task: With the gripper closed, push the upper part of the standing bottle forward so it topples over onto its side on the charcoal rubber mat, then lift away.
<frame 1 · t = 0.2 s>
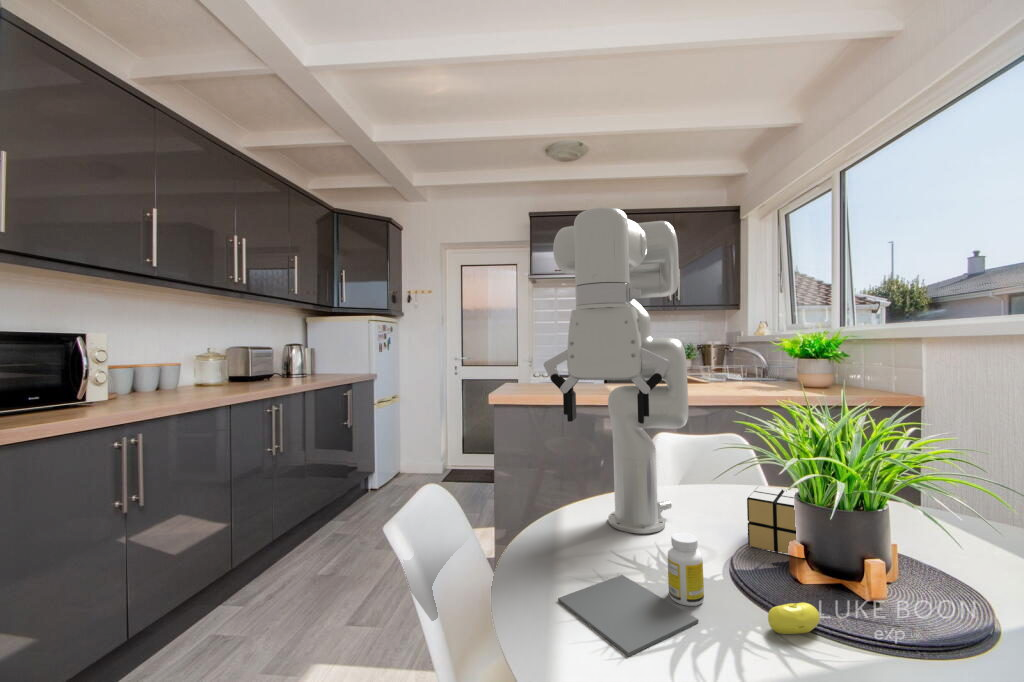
hand: (606, 420, 66), 31 cm above the table, tool pointing down, fingers open, 9 cm apart
supplement bottle: (686, 599, 76), on the table
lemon: (795, 632, 67), on the table
charcoal mat: (625, 611, 73), on the table
puzzle cube: (780, 545, 95), on the table
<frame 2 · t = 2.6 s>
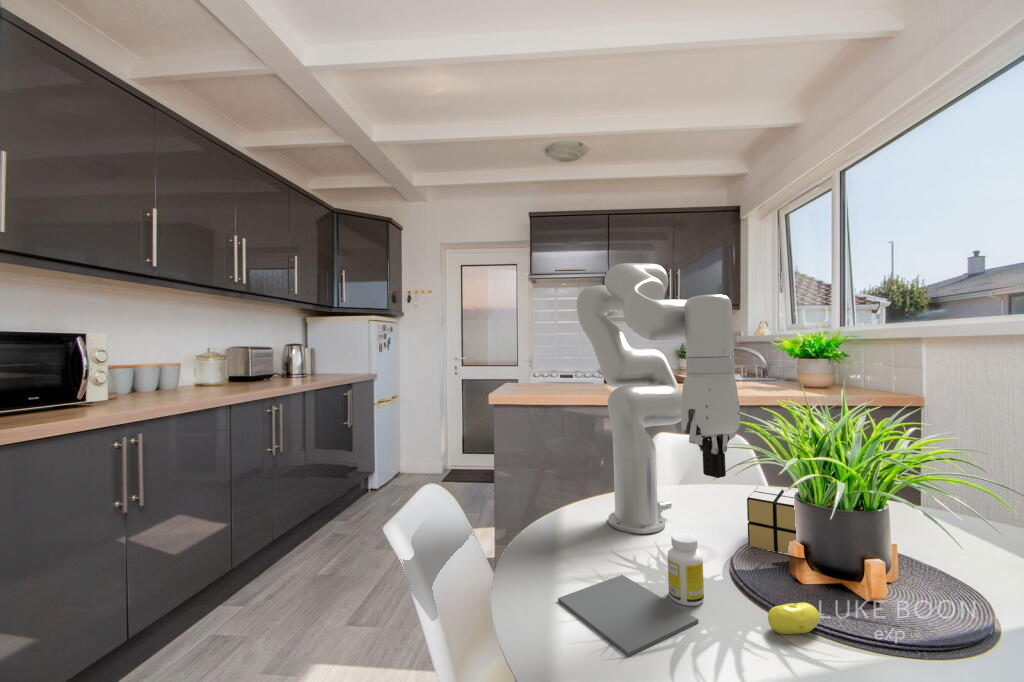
hand: (714, 475, 80), 19 cm above the table, tool pointing down, fingers closed
nothing on the table moved.
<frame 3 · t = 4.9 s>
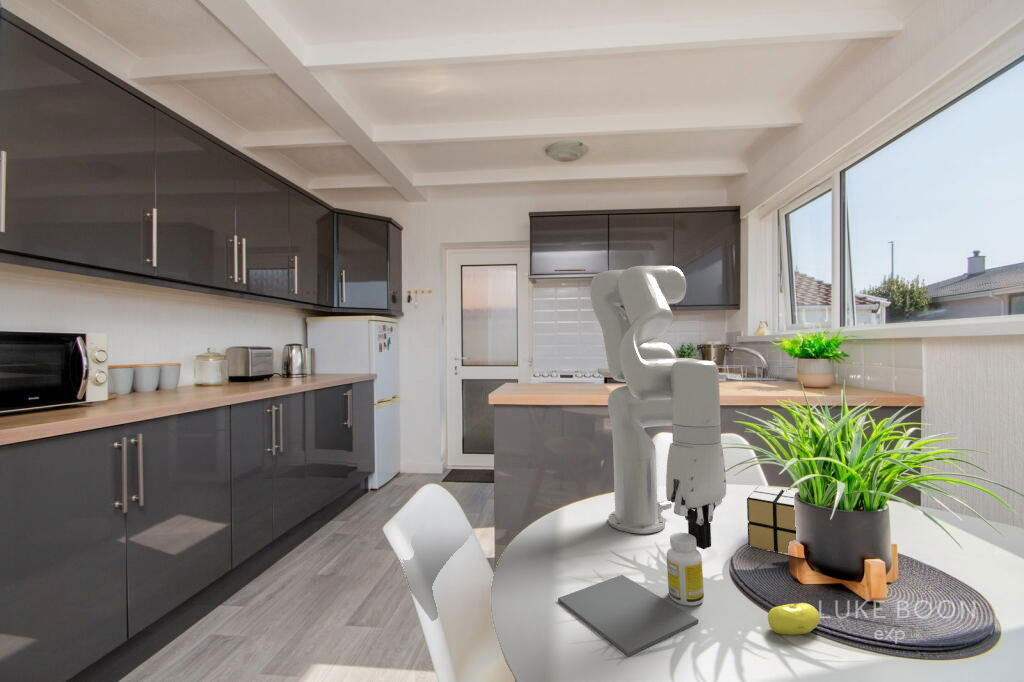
hand: (699, 545, 78), 8 cm above the table, tool pointing down, fingers closed
supplement bottle: (686, 598, 76), on the table, touching gripper
everything else where it was.
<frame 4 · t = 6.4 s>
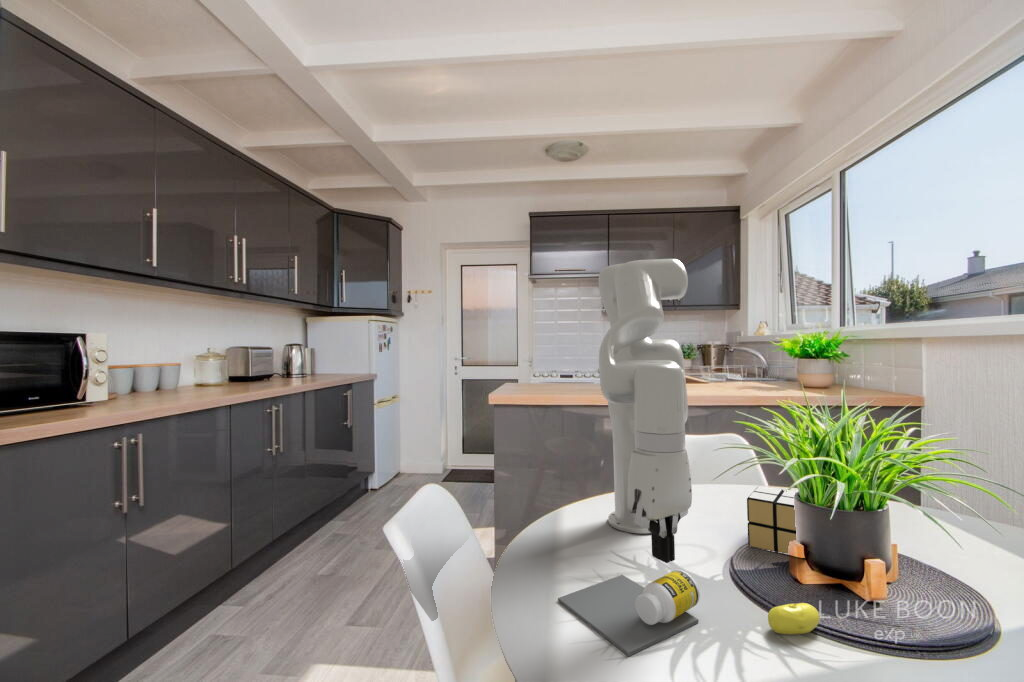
hand: (663, 558, 74), 8 cm above the table, tool pointing down, fingers closed
supplement bottle: (685, 586, 74), point 3 cm above the table, touching charcoal mat
everything else where it was.
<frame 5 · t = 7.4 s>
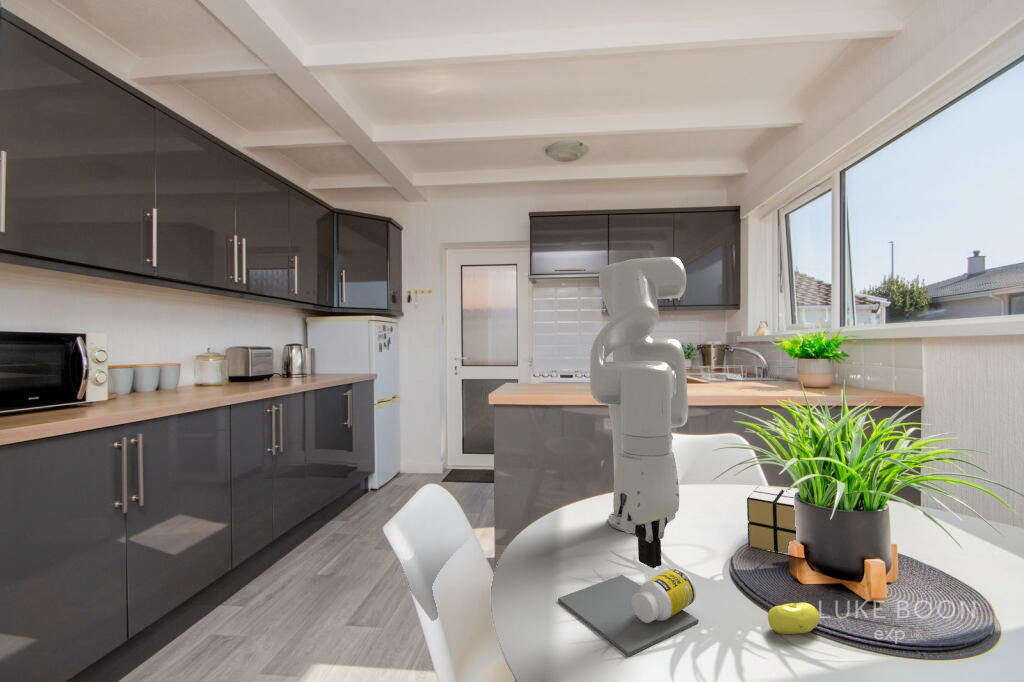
hand: (649, 563, 72), 8 cm above the table, tool pointing down, fingers closed
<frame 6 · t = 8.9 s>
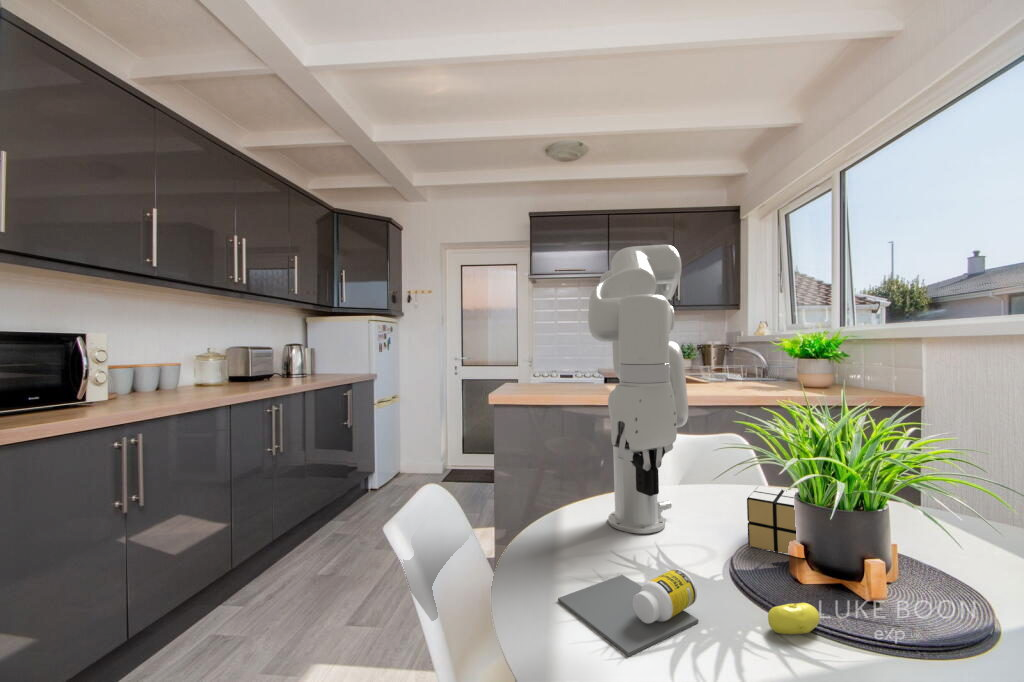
hand: (647, 492, 73), 18 cm above the table, tool pointing down, fingers closed
nothing on the table moved.
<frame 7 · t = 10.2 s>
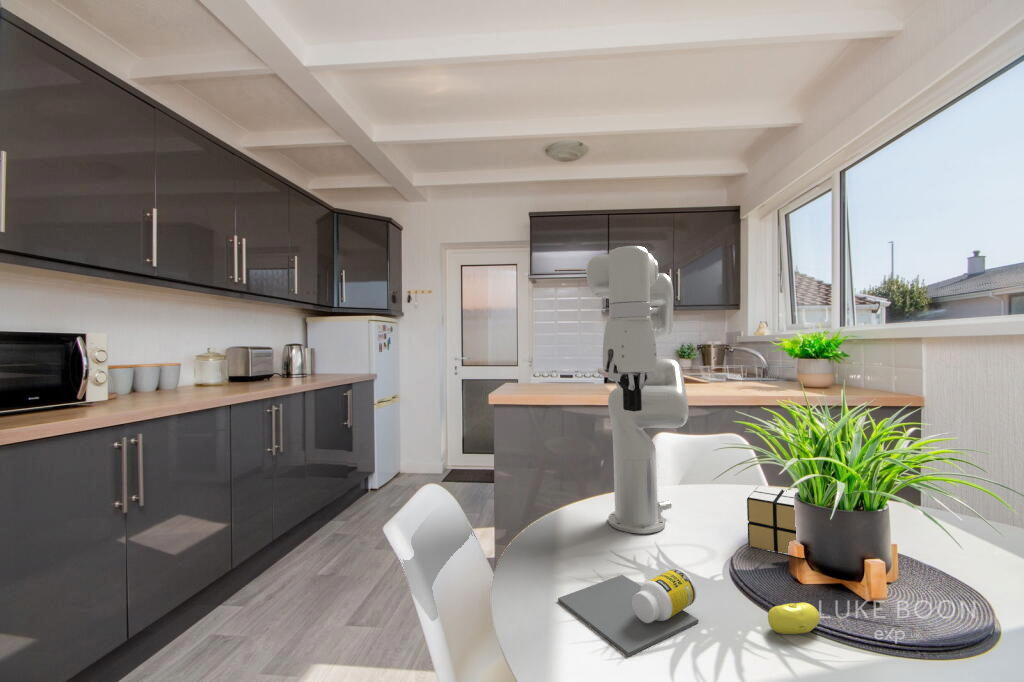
hand: (632, 410, 89), 29 cm above the table, tool pointing down, fingers closed
nothing on the table moved.
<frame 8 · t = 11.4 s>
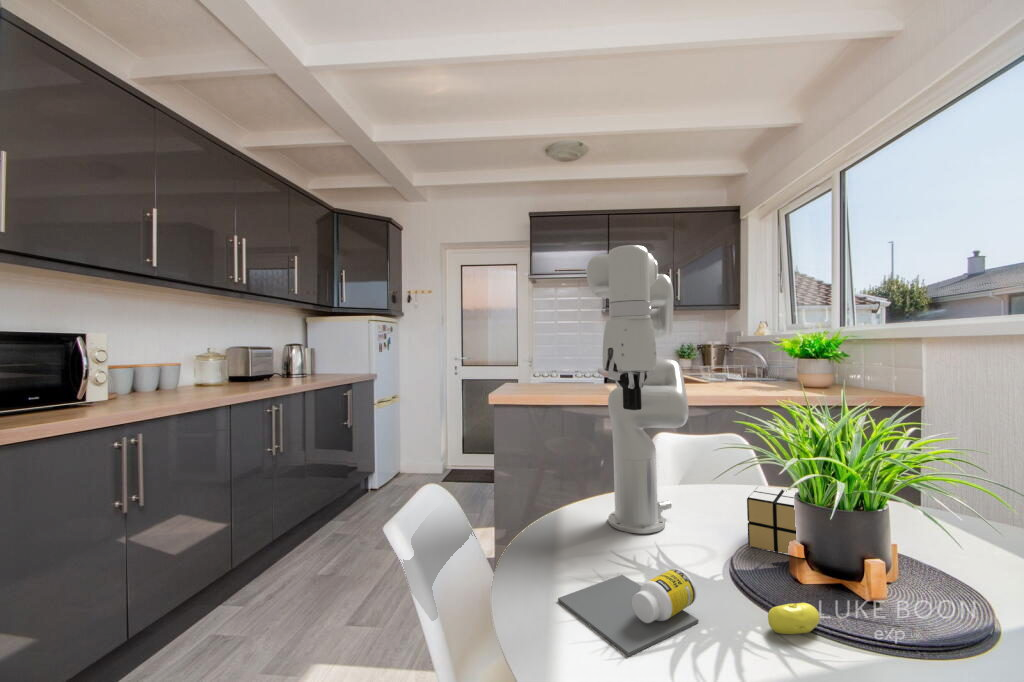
hand: (632, 409, 89), 29 cm above the table, tool pointing down, fingers closed
nothing on the table moved.
at the end: supplement bottle tilted 91°; supplement bottle touching charcoal mat; supplement bottle inside the target area (3.3 cm from its centre), point 3.2 cm above the table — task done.
